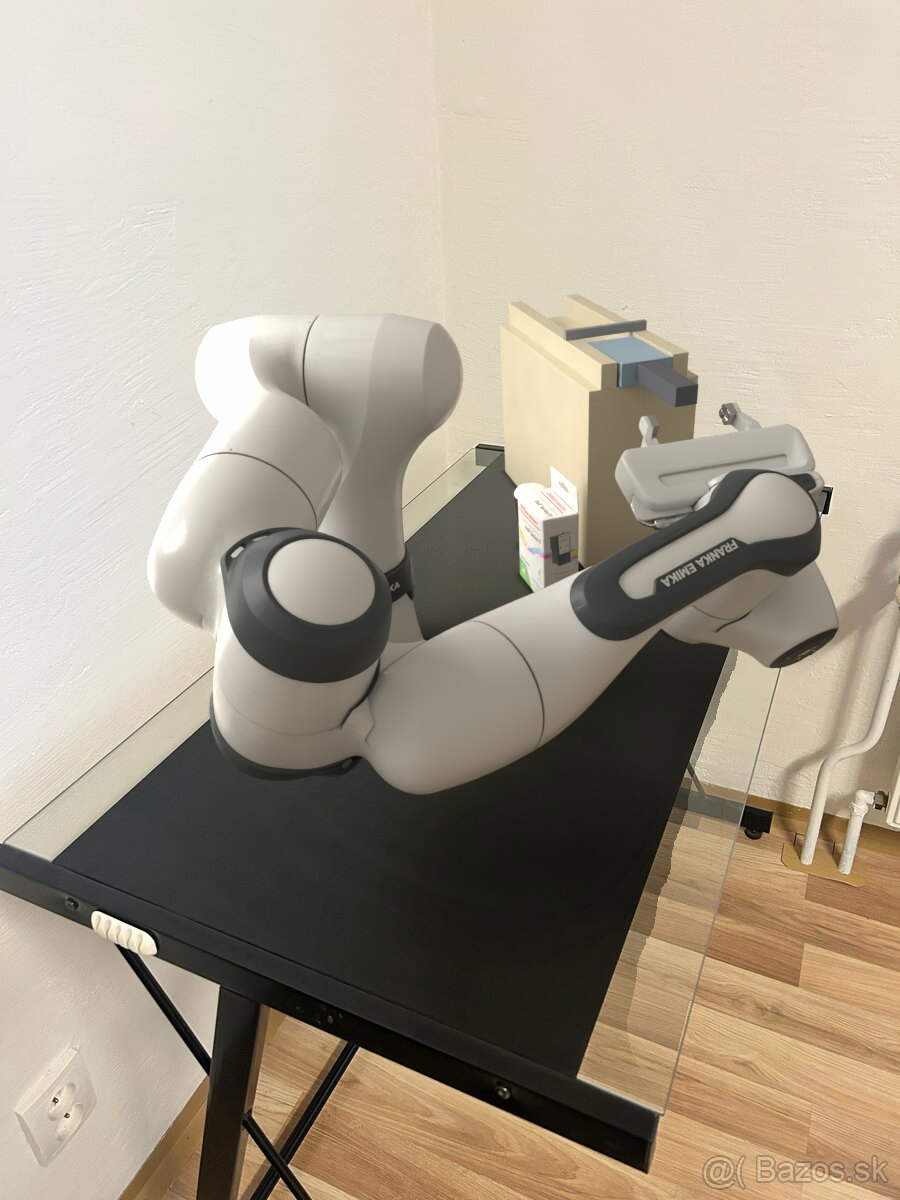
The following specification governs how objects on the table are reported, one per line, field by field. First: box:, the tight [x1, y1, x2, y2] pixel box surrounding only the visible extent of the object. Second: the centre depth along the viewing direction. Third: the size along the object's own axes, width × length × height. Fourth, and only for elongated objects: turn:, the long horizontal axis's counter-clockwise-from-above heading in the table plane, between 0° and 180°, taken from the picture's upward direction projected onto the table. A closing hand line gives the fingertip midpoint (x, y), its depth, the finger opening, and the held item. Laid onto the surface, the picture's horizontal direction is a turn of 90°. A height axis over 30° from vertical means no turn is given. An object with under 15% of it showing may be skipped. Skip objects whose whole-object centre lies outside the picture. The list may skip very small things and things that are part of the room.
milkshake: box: [513, 483, 552, 530], centre depth 120 cm, size 4×5×10 cm
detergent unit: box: [499, 293, 699, 569], centre depth 125 cm, size 14×36×28 cm, turn 14°
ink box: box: [518, 466, 579, 593], centre depth 109 cm, size 9×5×15 cm, turn 17°
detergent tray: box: [588, 336, 699, 407], centre depth 104 cm, size 6×21×3 cm, turn 14°
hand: (686, 413), depth 95 cm, fingers open, 8 cm apart
